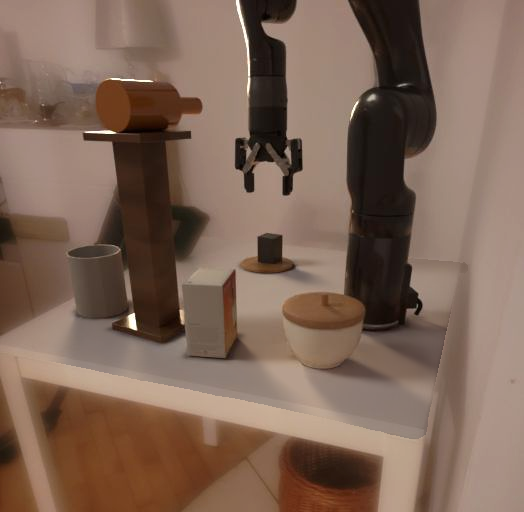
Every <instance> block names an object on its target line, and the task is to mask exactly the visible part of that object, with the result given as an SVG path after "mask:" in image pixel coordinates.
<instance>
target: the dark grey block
mask: <svg viewBox="0 0 524 512" xmlns="http://www.w3.org/2000/svg"><path fill="white" fill-rule="evenodd" d="M256 237H257V241H256V242H257V256H258V262H263V263H269V264H275V263H277V262H279V261H281V260H282V257H283V242H284V241H283V234H278V233H273V232H272V233H271V232H265V233H262V234H261V235H258V236H256Z"/></svg>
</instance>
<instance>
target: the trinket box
mask: <svg viewBox="0 0 524 512" xmlns="http://www.w3.org/2000/svg"><path fill="white" fill-rule="evenodd" d="M281 306H282V307H281V308H282V309H281V310H282V311H281V312H282V326H283V335H284V338H285V342H286V344H287V347H288V348H289V350H290V351H291V353H292V354H293V356H295V357H296V358H297V359H298V361H299V362H300V364H302V365H304V366H306V367H309V368H312V369H319V370H328V369H333V368H337V367H339V366H340V365H342V364H343V362H344V361H345V360H347V359H348V358H350V357H351V355H352V354H353V353H354V352H355V350H356V349H357V347H358V345H359V343H360V340H361V336H362V332H363V329H362V328H363V320H364V317H365V306H364V305H363V304H362V303H361V302H360V301H359V300H357V299H355V298H353V297H350V296H346V295H344V293H343V294H342V293H336V292H328V291H312V292H311V291H310V292H305V293H299V294H295V295H292V296H290V297H288V298H287V299H286V300H285V301H284V302H283V303H282V305H281Z"/></svg>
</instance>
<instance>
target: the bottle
mask: <svg viewBox="0 0 524 512" xmlns="http://www.w3.org/2000/svg"><path fill="white" fill-rule="evenodd" d="M94 99H95V100H94V103H95V105H94V106H95V110H96V114H97V117H98V119H99V121H100V124H102V125H103V127H104V128H105V129H106V130H107V131H111V132H114V133H121V132H139V131H156V130H173V129H175V128H176V127H177V126H178V125H179V123H180V122H181V119H182V117H183V116H198V115H200V114H201V113H202V112H203V106H204V105H203V102H202V100H201V98H199V97H196V96H181V95H180V93H179V91H178V89H177V88H176V87H175V86H174V85H173V84H171V83H170V82H167V81H155V80H137V79H121V78H106V79H104V80H103V81H101V82H100V84H99V85H98V86H97V89H96V91H95V98H94Z"/></svg>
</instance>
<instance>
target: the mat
mask: <svg viewBox="0 0 524 512" xmlns="http://www.w3.org/2000/svg"><path fill="white" fill-rule="evenodd" d="M241 268H243V269H244V270H246V271H249V272H253V273H261V274H271V273H272V274H273V273H282V272H286V271H289V270H290V269H292V268H293V261H292V260H291V259H289V258H287V257H284V256H282V260H281V261H279V262H277V263H275V264H269V263H263V262H258V255H256V256H251V257H247V258H245V259H243V260H242V261H241Z"/></svg>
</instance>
